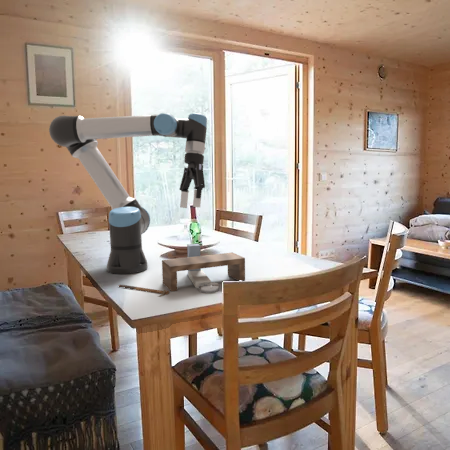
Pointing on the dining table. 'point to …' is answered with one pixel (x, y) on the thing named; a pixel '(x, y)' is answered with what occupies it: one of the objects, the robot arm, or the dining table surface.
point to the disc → (208, 287)
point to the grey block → (196, 274)
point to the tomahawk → (147, 290)
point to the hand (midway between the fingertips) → (189, 207)
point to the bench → (202, 266)
